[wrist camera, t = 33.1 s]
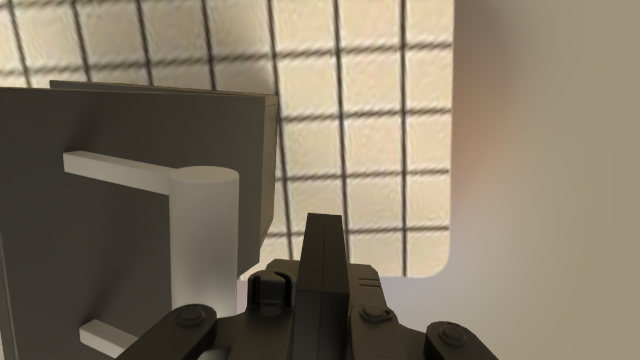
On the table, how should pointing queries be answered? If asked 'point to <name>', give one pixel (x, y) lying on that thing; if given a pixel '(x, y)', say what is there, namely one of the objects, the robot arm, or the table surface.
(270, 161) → the dark grey hollow box
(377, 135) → the table surface
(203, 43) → the table surface
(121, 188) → the drawer with bar handle
